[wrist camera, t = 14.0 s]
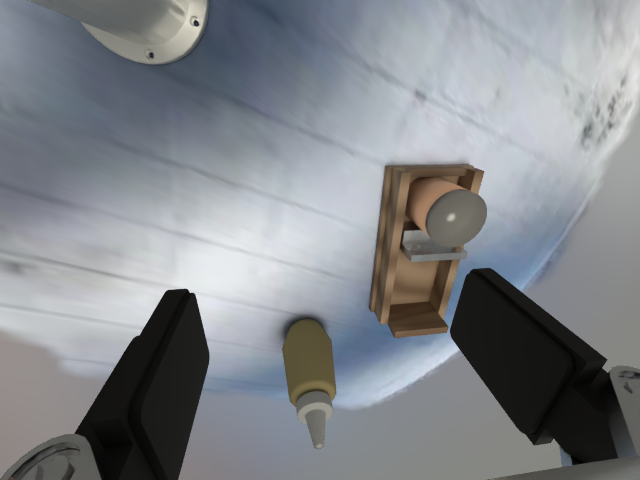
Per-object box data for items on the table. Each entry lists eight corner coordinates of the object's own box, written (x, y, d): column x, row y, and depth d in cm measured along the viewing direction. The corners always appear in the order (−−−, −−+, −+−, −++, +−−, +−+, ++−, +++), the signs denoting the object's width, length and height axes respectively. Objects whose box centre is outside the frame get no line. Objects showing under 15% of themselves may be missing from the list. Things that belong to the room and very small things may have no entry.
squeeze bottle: (294, 307, 45) (303, 419, 29) (336, 320, 48) (366, 430, 32) (274, 341, 48) (272, 461, 32) (315, 352, 50) (332, 468, 35)
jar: (405, 175, 36) (435, 192, 29) (453, 173, 37) (494, 190, 30) (398, 222, 40) (424, 249, 32) (442, 220, 40) (477, 245, 33)
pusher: (397, 223, 39) (414, 241, 34) (447, 221, 40) (471, 238, 35) (394, 242, 40) (410, 262, 36) (443, 239, 41) (465, 258, 36)
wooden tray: (385, 166, 37) (407, 179, 30) (469, 164, 38) (506, 176, 32) (369, 307, 47) (382, 339, 41) (434, 302, 49) (457, 331, 43)
